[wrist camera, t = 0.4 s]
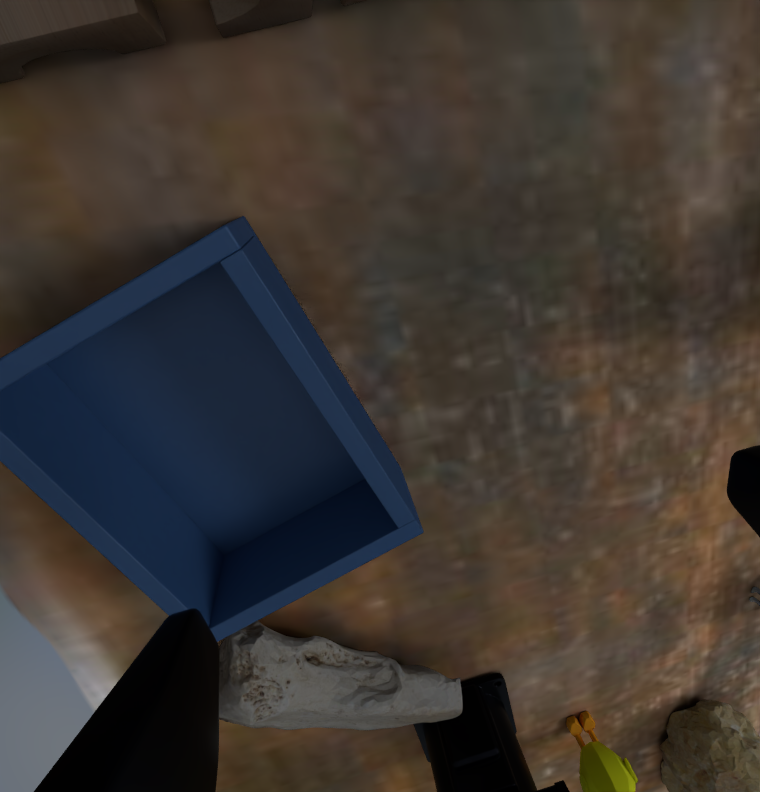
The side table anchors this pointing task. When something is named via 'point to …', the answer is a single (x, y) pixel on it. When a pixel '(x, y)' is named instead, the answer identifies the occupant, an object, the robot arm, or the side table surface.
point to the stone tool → (711, 750)
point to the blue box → (204, 437)
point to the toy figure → (600, 761)
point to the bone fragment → (325, 685)
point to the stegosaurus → (754, 597)
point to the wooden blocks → (117, 25)
